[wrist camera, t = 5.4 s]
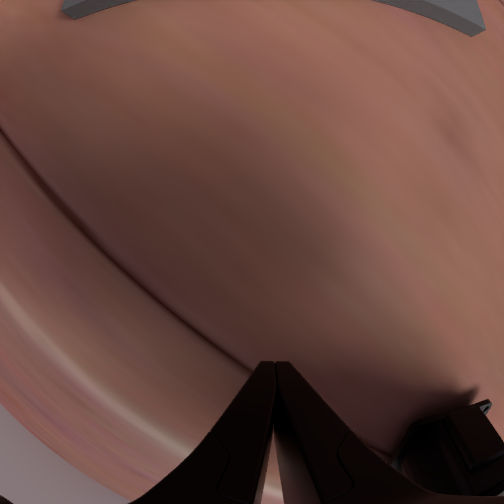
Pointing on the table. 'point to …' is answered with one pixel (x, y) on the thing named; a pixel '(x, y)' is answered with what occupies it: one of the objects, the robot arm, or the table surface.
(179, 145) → the table surface
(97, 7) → the mat
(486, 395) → the table surface
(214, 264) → the table surface
